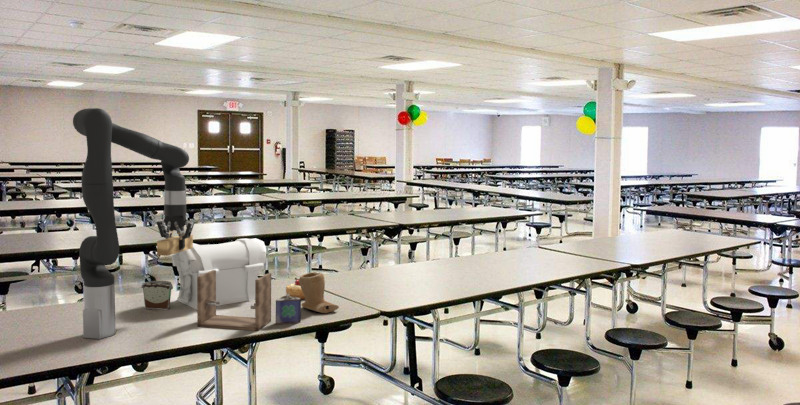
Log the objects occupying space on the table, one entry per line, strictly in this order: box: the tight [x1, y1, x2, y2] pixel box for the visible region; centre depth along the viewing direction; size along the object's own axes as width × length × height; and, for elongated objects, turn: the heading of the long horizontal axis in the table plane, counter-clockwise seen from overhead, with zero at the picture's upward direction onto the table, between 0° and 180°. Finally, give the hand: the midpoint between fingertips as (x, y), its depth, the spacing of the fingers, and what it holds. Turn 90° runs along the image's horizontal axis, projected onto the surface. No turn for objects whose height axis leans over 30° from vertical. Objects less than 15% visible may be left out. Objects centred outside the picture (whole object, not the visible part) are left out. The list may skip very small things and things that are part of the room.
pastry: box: [285, 279, 305, 300], centre depth 262 cm, size 12×12×9 cm
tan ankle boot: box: [299, 271, 340, 314], centre depth 241 cm, size 15×12×15 cm
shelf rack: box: [196, 270, 272, 332], centre depth 219 cm, size 12×23×18 cm, turn 81°
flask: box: [275, 294, 302, 325], centre depth 223 cm, size 9×3×11 cm, turn 109°
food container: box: [140, 280, 174, 311], centre depth 240 cm, size 12×6×10 cm, turn 84°
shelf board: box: [156, 234, 194, 257], centre depth 223 cm, size 18×4×5 cm, turn 171°
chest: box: [171, 238, 267, 310], centre depth 253 cm, size 35×23×25 cm, turn 133°
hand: (175, 249), depth 223 cm, fingers closed on shelf board, 4 cm apart
